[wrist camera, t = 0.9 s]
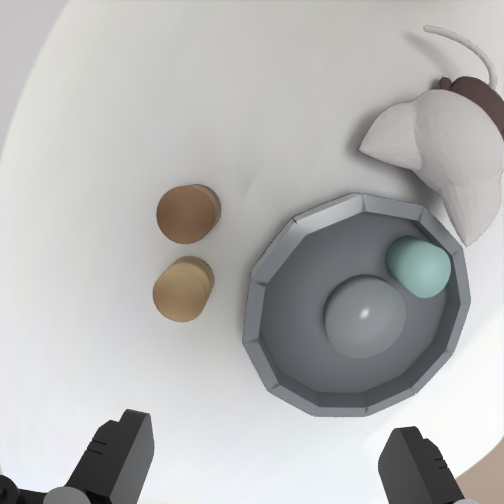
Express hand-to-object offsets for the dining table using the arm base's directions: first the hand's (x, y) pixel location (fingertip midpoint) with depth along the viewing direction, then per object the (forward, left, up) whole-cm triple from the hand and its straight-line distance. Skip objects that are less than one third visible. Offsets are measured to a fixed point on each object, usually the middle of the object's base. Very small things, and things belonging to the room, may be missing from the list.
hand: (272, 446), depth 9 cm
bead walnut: (-5, -6, -19) cm, 21 cm away
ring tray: (+2, +9, -19) cm, 21 cm away
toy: (-15, +13, -19) cm, 27 cm away
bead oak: (+1, -6, -19) cm, 20 cm away
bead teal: (-3, +12, -18) cm, 22 cm away
